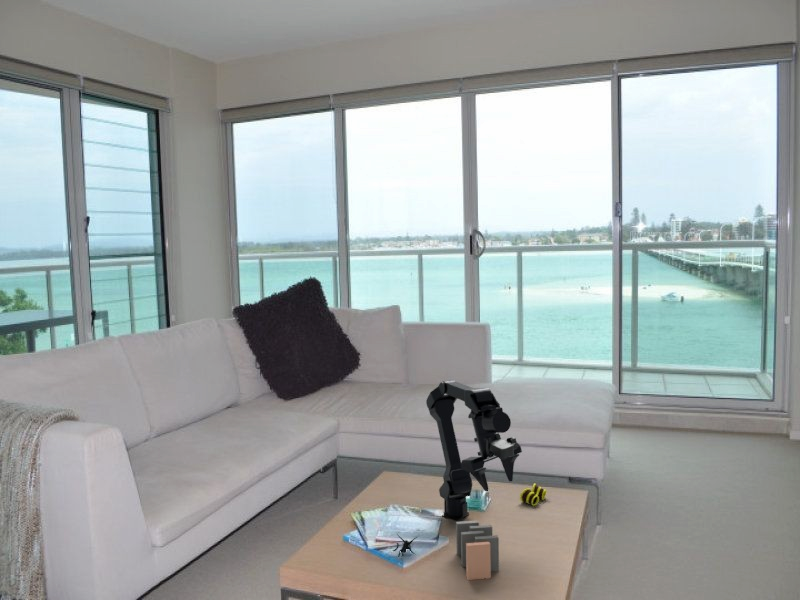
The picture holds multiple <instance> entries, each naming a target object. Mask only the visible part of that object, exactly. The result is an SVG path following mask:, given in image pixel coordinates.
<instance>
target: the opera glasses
mask: <svg viewBox="0 0 800 600" xmlns="http://www.w3.org/2000/svg"><path fill="white" fill-rule="evenodd" d="M546 496H547V489H544V488H542V487H541V486H538V485H537V484H536V483H533V485H532V488H525V489H523V490H522V491H521V493H520V496H519V500H520V501H521V502H522V503H527V504H529V505H532V506H537V505H538V503H539V501H540V500H542V501H544V500H545V499H546Z"/></svg>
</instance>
